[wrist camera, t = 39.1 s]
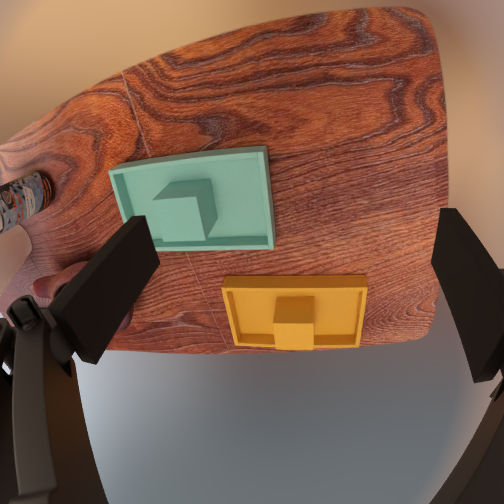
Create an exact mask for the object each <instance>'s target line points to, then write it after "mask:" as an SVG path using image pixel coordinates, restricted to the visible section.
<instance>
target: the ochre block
mask: <svg viewBox="0 0 504 504" xmlns="http://www.w3.org/2000/svg"><path fill="white" fill-rule="evenodd" d="M314 330H315V298H314V297H277V299H276V305H275V311H274V318H273V331H274V339H275V346H276V349H285V350H314Z"/></svg>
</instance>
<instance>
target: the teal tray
mask: <svg viewBox="0 0 504 504" xmlns="http://www.w3.org/2000/svg"><path fill="white" fill-rule="evenodd" d="M108 172H109V176H110V179H111V183H112V186H113V190H114V193H115V196H116V200H117V203H118V206H119V209H120V212H121V216H122V219H123V222H124V223H125V222H126V221H127V220H128V219H129V218H130V217H131V216H138V215H145V216H146V220H147V223H148V226H149V230H150V233H151V236H152V239H153V242H154V246H155V249H156V251H197V250H258V249H274V246H275V241H276V229H275V220H274V210H273V200H272V191H271V181H270V172H269V163H268V154H267V146H266V145H264V146H251V147H239V148H228V149H218V150H209V151H200V152H192V153H184V154H177V155H170V156H163V157H156V158H150V159H144V160H138V161H132V162H126V163H121V164H118V165H117V166H115V167H113V168H112V169H110V170H109V171H108ZM200 179H210V180H211V185H212V190H213V196H214V201H215V206H216V212H217V217H218V219H217V221H216V223H215V224H214V226H213V228H212V230H211V232H210V234H209V235H208V237H207V239H206V240H205V241H171V242H163V239H162V235H161V232H160V229H159V225H158V222H157V218H156V214H155V211H154V207H153V203H152V200H153V199H154V198H155V197H156V196H157V195H158V194H159V193H160V192H161V191H162V190H163V189H164V188H165V187H166V186H167V185H168V184H169V183H170V182H180V181H190V180H200Z"/></svg>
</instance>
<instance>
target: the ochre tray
mask: <svg viewBox="0 0 504 504" xmlns="http://www.w3.org/2000/svg"><path fill="white" fill-rule="evenodd" d="M221 289H222V293H223V297H224V301H225V306H226V310H227V314H228V318H229V322H230V326H231V331H232V335H233V339H234V343H235V345H239V346H260V347H276V346H275V339H274V331H273V318H274V311H275V305H276V299H277V297H314V298H315V330H314V348H342V347H359V343H360V337H361V331H362V325H363V319H364V312H365V305H366V297H367V290H368V286H367V281H366V276H365V275H304V276H226V277H225V279H224V282H223V285H222V287H221Z"/></svg>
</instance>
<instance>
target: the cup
mask: <svg viewBox="0 0 504 504" xmlns="http://www.w3.org/2000/svg"><path fill="white" fill-rule="evenodd" d="M31 251H32V243H31V240H30V237H29V236H28V234H27V232H26V231H25V229H24V228H23V227H22V226H20V225H19V224H17V225H16V226H14V227H12V228H11V229H9V230H7V231H6V232H4V233H3V234H1V235H0V297H1V296H2V294H3V293H4V291H5V290H6V288H7V287H8V285H9V284H10V282H11V281H12V280H13V278H14V277H15V275H16V274H17V273H18V271H19V270H20V268H21V267H22V266H23V264H24V263H25V260H26V258H27V257H28V255H29V254H30V253H31Z"/></svg>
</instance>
